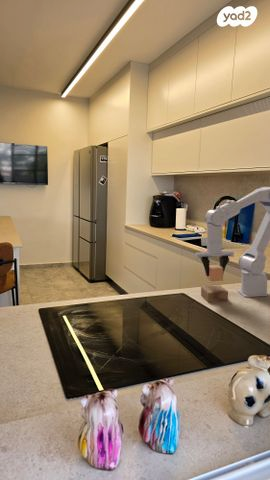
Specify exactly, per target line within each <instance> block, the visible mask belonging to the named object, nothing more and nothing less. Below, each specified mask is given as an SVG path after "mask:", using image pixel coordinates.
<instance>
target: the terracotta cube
mask: <svg viewBox="0 0 270 480" xmlns="http://www.w3.org/2000/svg"><path fill="white" fill-rule="evenodd" d="M206 279H207V280H208V281H209V282H222V281H223V282H224V274H223V268H222V267H221V266H220V264H213V265H212V264H211V265H210V264H209V276H206Z"/></svg>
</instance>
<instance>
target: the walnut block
mask: <svg viewBox="0 0 270 480" xmlns="http://www.w3.org/2000/svg"><path fill="white" fill-rule="evenodd" d="M200 296H201V298H203V299H204V300H205V301H206V302H207V303H218V302H228V301H229V291H228V290H227V289H226V288H224V287H223V286H221V285H220V284H219V285H218V284H217V285H206V286H200Z"/></svg>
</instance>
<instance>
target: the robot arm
mask: <svg viewBox="0 0 270 480" xmlns="http://www.w3.org/2000/svg"><path fill="white" fill-rule="evenodd" d="M256 202H259V203H260V204H261V205H262V207H263V208H264V209H265V214H264V217H263V219H262V221H261V223H260V225H259V227H258V230H257V231H256V234H255V237H254V239H253V241H252V244H251V246H250V247H249V248H248V249H246V250H244V253H243V254H242V255H241V256H240V257H239V259H238V261H237V263H238V266H239V268H240V272H241V282H240V283H241V288H240V289H237V291H238V292H237V293H239V294H241V296H243V297H244V298H250V297H253V298H254V297H256V298H257V297H268V295H269V294H268V277H267V276H268V275H267V274H266V273H265V272H264V271H265V268H266V261H267V257H266V255H265V251H266V249H267V247H268V245H269V242H270V186H260V188H256V189H254V190H253V191H252V192H250V193H248V194H247V195H245V196H243V197H242V198H240V199H238V200H236V201H235V200H233V199H232V200H229V199H228V200H226V202H225V203H224V204H222V205H220V206H219V205H218V206H215V207H216V208H215V209H210V210H207V212H206V213H205V216H203V219H204V222H205V223H206V227H207V228H206V235H207V236H206V251H200V252H195V258H196V259H200V260H201V263H202V265H203V268H204V272H205V276H206V277H207V276H209V265H210V264H211V263H210V262H211V261H210V259H209V258H219V259H218V260H219V265H220V266H221V267H222V268H223V275H224V273H225V269H226V266H227V265H228V263H229V261H230V258H231V257H232V258H233V257H235V255H234V254H235V253H234V251H233V250H223V225H224V224H225V223H226V221H227V220H229V219H231V218H233V217H235V216H237V215H238V214H240V212H241V210H242V209H243V208H245V207H248V206H250V205H252V204H255V203H256Z"/></svg>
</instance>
